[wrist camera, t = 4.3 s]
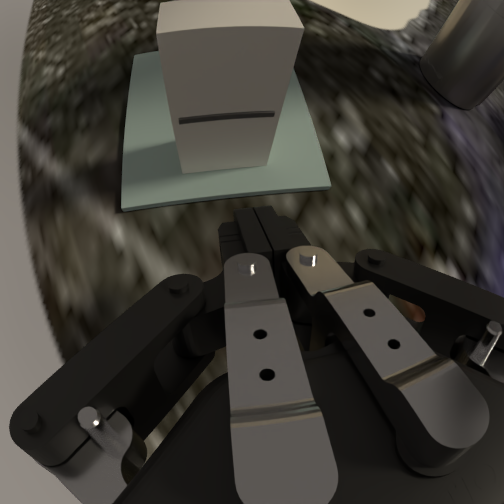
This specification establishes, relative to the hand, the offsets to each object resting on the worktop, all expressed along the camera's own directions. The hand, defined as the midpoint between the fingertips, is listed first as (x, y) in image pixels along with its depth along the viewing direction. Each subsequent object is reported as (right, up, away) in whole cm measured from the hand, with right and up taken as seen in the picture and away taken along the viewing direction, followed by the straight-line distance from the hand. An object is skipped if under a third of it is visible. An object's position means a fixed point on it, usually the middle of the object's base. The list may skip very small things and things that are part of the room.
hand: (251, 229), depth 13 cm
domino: (-2, +6, +9) cm, 11 cm away
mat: (-3, +11, +11) cm, 16 cm away
